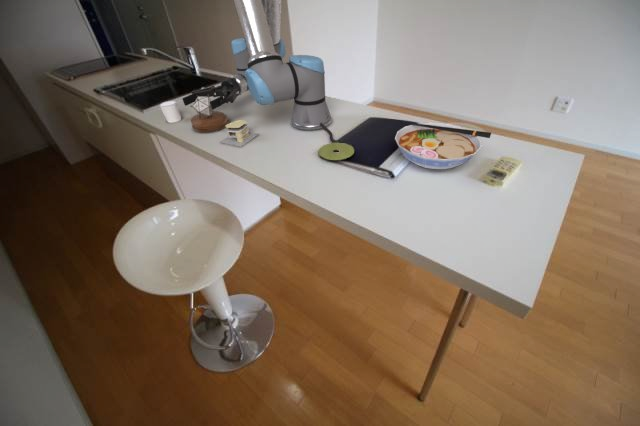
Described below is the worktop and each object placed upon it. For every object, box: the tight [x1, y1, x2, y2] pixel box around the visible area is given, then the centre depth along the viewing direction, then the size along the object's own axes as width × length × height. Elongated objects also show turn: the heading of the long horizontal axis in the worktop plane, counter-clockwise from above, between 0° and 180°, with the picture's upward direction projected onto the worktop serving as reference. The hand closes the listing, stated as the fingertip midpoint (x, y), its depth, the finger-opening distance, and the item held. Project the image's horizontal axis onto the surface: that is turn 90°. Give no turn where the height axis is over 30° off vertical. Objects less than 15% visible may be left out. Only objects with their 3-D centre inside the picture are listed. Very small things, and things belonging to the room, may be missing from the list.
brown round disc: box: [190, 110, 230, 134], centre depth 114 cm, size 14×14×4 cm
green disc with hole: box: [317, 142, 355, 161], centre depth 90 cm, size 11×11×2 cm
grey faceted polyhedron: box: [190, 95, 215, 118], centre depth 111 cm, size 9×8×10 cm
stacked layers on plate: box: [220, 119, 258, 148], centre depth 103 cm, size 10×9×6 cm
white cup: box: [159, 100, 182, 124], centre depth 120 cm, size 7×7×7 cm
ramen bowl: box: [394, 121, 492, 170], centre depth 82 cm, size 25×23×8 cm
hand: (197, 103), depth 107 cm, fingers open, 13 cm apart
